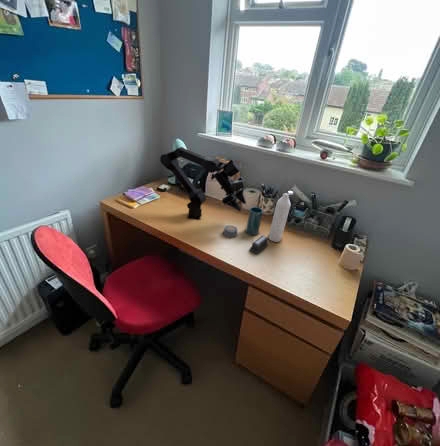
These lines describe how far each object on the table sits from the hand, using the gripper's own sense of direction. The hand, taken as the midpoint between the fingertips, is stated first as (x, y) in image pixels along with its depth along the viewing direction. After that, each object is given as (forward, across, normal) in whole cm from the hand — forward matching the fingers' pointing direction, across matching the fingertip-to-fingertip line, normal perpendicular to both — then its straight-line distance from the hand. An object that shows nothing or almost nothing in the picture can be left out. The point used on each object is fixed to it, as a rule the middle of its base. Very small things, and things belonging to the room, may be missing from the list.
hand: (242, 206), depth 124 cm
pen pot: (+14, 0, +4) cm, 15 cm away
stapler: (+19, -13, 0) cm, 23 cm away
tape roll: (+7, -8, +11) cm, 15 cm away
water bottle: (+23, 0, -5) cm, 24 cm away
